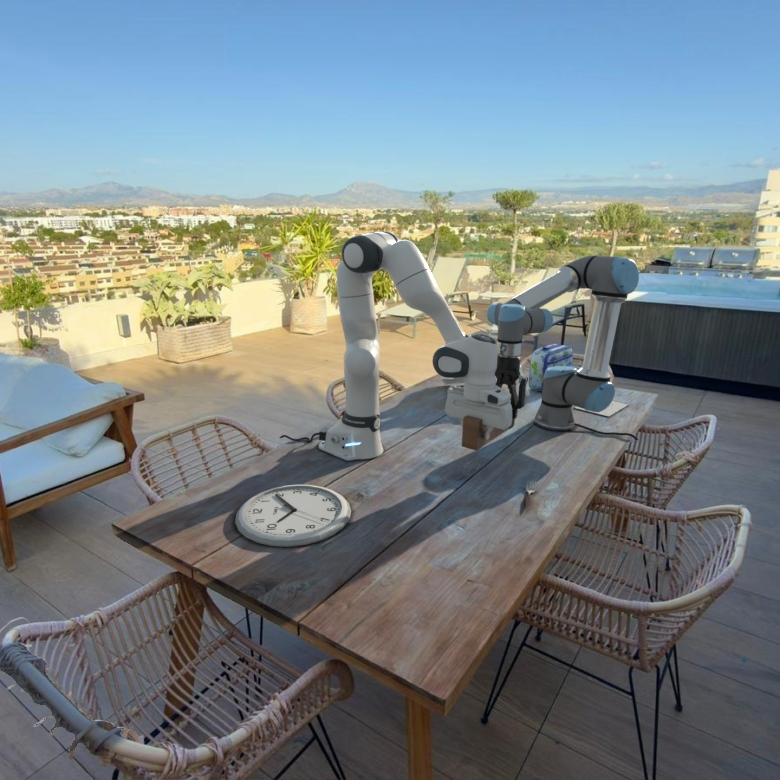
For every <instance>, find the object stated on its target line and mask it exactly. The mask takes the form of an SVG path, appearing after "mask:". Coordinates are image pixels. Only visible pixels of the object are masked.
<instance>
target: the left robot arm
mask: <svg viewBox="0 0 780 780" xmlns="http://www.w3.org/2000/svg"><path fill="white" fill-rule="evenodd" d="M336 269H337V271H336V291H337V301H338V309H339V316H340V323H341V326H342V331H343V337H344V340H345V352H344V354H343V373H344V375H343V376H344V386H345V409H344V410H343V411H342V412H339V413H338V418H340V417H341V419H340V420H339V421H338V422H336V423H334V424H333V425H332V426H330V427H326V426H325V427H323V428H322V429H320V430H319V432H315V433H313V434H312V435H311V437H308V436H303V437H300V438H292V437H290V436H289V435H287V434H281V436H279V439H282V438H286V439H288V440H290V441H293V442H299V441H302V440H303V441H304V440H307V441H308V442H309V443H312V442H313V440H314V438H315V437H316V436H318V439H319V441H320V443H319V444H318V450H321V451H323V452H326V453H328V454H330V455H332V456H335V457H337V458H340V459H342V460H344V461H347V462H351V461H355V460H371V459H373V458H377V457H379V456H381V455H382V454H383V453H384V448H383V443H382V438H381V430H380V429H381V410H380V355H381V346H380V337H379V329H378V324H377V323H378V322H377V316H376V306H375V297H374V288H373V276H374V275H375V273H376V272H382V271H385V272H386V273H387V274H388V275H389V276H390V279H391V281H392V282H393V285H394V286H395V289H396V292H397V294H398V296H399V297H400V298H401V300H402V301H403V302H404V304H405V306H407V307H409V308H411V309H413V310H416V311H419V312H421V313H424V314H425V315H427V316H428V317H429V318H430V319H432V321H433V323H434V324H435V326H436V328H437V330H438V332H439V334H440V335H441V337H442V339H443V340H444V343H445V344H444V345H442V346H440V347H439V348H437V349H436V350H435V352H434V353H433V355H432V360H431V361H432V366H433V369H434V371H435V372H436V373H437V374H438V375H439V376H440V375H441V376H442V377H446V378H458V377H464V383H463V387H461V386H458V385H451V386H449V387H448V388H447V392H446V397H447V398H446V401H445V408H444V412H445V415H446V416H448V417H452V418H455V419H460V420H459V423H460V425H461V427H462V428H463V417H465V416H471V417H475V418H479V419H482V424H483V425H486V429H488V430H487V431H486V432H484V433H483V434H482V438H483V439H486V440H487V439H489V434H490V432H491V431H492V429H493V428H498V429H502V430H505V429H507V428H509V427H510V426H511V424H512V406H511V404H510V402H508V401H509V400H510V399H511V394H510V393H509V391H506V390H505V389H503V387H502V388H500V387H498V386H497V385H496V382H497V379H496V376H495V371H496V369H497V341H496V340H495V338H493V337H491V336H490V335H487V334H484V333H472V334H470V335H467V333H466V332H465V331H464V329H463V327H462V326H461V324H460V322H459V321H458V319H457V317H456V315H455V313H454V312H453V310H452V308H451V306H450V305H449V303H448V301H447V300H446V298H445V296H444V294H443V292H442V291H441V289H440V287H439V285H438V283H437V281H436V279H435V277H434V275H433V272H432V271H431V269H430V267H429V264H428V262H427V261H426V259H425V257H424V256H423V254H422V252H421V251H420V249H419V248H418V246H417V245H416V244H415V243H414V242H413V241H411V240H408V239H400V238H399V236H397V235H396V234H394V233H393V232H390V231H371V232H367V233H363V234H357V235H354V236H351V237H350V238H349V239H347V240H346V241H345V242H344V244H343V246H342V249H341V261H340V262H339V264H338V265H337V268H336ZM441 376H440V377H441Z"/></svg>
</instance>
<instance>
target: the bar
mask: <svg viewBox="0 0 780 780" xmlns="http://www.w3.org/2000/svg"><path fill="white" fill-rule="evenodd" d="M508 402H510V404H511V399H510V400H509V401H508ZM511 406H512V405H511ZM515 421H516V418H515V419H514V424H515ZM487 430H488V429H486V425H483V424H482V419H479V418H475V417H471V416H465V417H463V427H462V433H461V434H462V436H461V447H463V448H465V449H468V450H473V451H478V450H480V449H481V448H483V447H485V446H486V445H487V444H489V443H490V442H492V441H493V440H495V439H496V438H498V437H499V436H501V435H503V434H504V433H505V432H507V431H508V430H509V429H508V428H507V429H505V430H502V429H498V428H493V429H492V431H491V432H490V434H489V439H487V440H486V439H483V438H482V434H483V433H484V432H486V431H487Z"/></svg>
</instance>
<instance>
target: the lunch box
mask: <svg viewBox="0 0 780 780" xmlns="http://www.w3.org/2000/svg"><path fill="white" fill-rule="evenodd" d="M573 358H574V349H573V346H571V345H565V344H558V343H553V344H548V345H546V346H542V347H540V348H537V349H535V350H534V351H533V352H532V354H531V357H530V362H529V374H528V375H529V376H528V387H529V388H528V389H530V390H534V391H539V392H542V391H543V380H544V379H543V378H544V375H545V370H546V369H547V368H549V367H555V366H570V367H573Z"/></svg>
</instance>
